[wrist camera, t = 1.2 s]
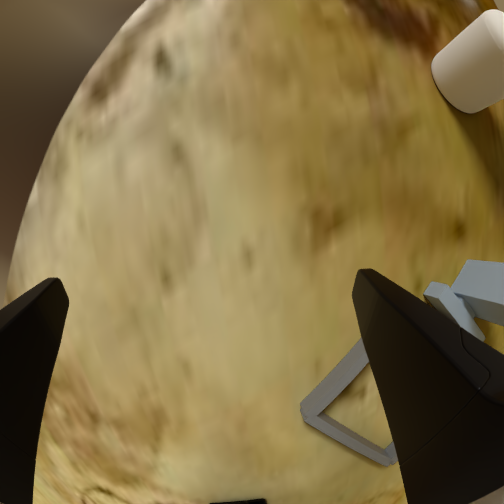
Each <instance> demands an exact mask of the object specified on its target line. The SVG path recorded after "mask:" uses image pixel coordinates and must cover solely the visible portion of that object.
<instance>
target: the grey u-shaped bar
mask: <svg viewBox="0 0 504 504" xmlns="http://www.w3.org/2000/svg"><path fill="white" fill-rule="evenodd" d="M368 362H369V360H368V357H367V354H366V351H365V348H364V345H363V341H362V337H361V339H360V340H359V341H358V342H357V343H356V345H355V346H354V347H353V348H352V349H351V350H350V351H349V353H348V354H347V355H346V356H345V357H344V358H343V359H342V360H341V361H340V363H339V364H338V365H337V366H336V367H335V368H334V369H333V370H332V371H331V372H330V373H329V374H328V376H327V377H326V378H325V379H324V380H323V381H322V382H321V383H320V384H319V385H318V386H317V387H316V388H315V389H314V390H313V391H312V392H311V393H310V394H309V395H308V396H307V397H306V398H305V399H304V400H303V401H302V402H301V403H300V405H301V409H300V411H301V414H302V416H303V419H304V421H305V422H306V423H308V424H310V425H311V426H313V427H315V428H316V429H318V430H320V431H321V432H323V433H325V434H326V435H328V436H330V437H332V438H333V439H335V440H337V441H339V442H340V443H342V444H344V445H346V446H347V447H349V448H351V449H353V450H355V451H357V452H359V453H360V454H362V455H364V456H366V457H368V458H370V459H372V460H374V461H376V462H378V463H380V464H382V465H384V466H386V467H388V466H389V465H390V464H392V465H393V464H394V463H396V462H397V461H398V458H397V454H396V450H395V446H394V442H392V443H391V444H390V445H389V446H388V447H387V448H386V449H385V450H384V449H382V448H381V447H379V446H377V445H375V444H374V443H372V442H370V441H368V440H367V439H365V438H363V437H362V436H360V435H358V434H357V433H355V432H353V431H352V430H350V429H348V428H347V427H345V426H344V425H342V424H340V423H339V422H337V421H336V420H334V419H332V418H331V417H329V416H328V415H326V414H325V413H323V412H322V411H323V410H324V409H325V408H326V407H327V406H328V405H329V404H330V403H331V402H332V401H333V400H334V399H335V398H336V397H337V396H338V395H339V394H340V393H341V392H342V390H343V389H344V388H345V387H346V386H347V385H348V384H349V383H350V382H351V381H352V380H353V379H354V378H355V377H356V376H357V374H358V373H359V372H360V371H361V370H362V369H363V368H364V367H365V366H366V364H367V363H368Z"/></svg>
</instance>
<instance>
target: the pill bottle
mask: <svg viewBox="0 0 504 504" xmlns="http://www.w3.org/2000/svg"><path fill="white" fill-rule="evenodd" d="M431 70H432V75H433V78H434V81H435V83H436V85H437V87H438V89H439V90H440V92H441V93H442V94H443V96H444V97H445V98H446V99H447V100H448V101H449V102H450V103H451V104H452V105H453V106H454V107H456V108H457V109H459V110H460V111H462V112H465V113H476V112H479V111H481V110H483V109H485V108H486V107H488V106H490V105H492V104H494V103H496V102H498V101H500V100H502V99H504V13H503V12H501V11H499V10H488V11H485V12H484V13H483V14H481V15H480V16H479V17H478V18H477V19H476V20H475V21H474V22H472V23H471V24H470V25H469V26H468V27H467V28H466V29H465V30H463V31H462V32H461V33H460V34H459V35H458V36H457V37H456V38H455V39H453V40H452V41H451V42H450V43H449V44H448V45H447V46H446V47H445V48H443V49H442V50H441V51H440V52H439V53H438V54H437V55H436V56H435V57H434V59H433V61H432V65H431Z"/></svg>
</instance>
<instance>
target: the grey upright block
mask: <svg viewBox="0 0 504 504" xmlns="http://www.w3.org/2000/svg"><path fill="white" fill-rule="evenodd" d="M423 294H424V296H425V297H426V298H427V299H428V300H429V301H430V302H431V304H432V305H433V306H434V307H435V308H436V310H437V311H438V312H440V313H441V314H443V315H444V316H446V317H447V318H449V319H450V320H452V321H453V322H455V323H456V324H458V325H459V326H460V327H462V328H464V329H465V330H466V331H468V332H469V333H471V334H472V335H474V336H475V337H477V338H478V339H480V340H481V341H482V342H483V341H484V340H485V338H486V337H485V336H484V334H483V333H482V331H481V330H480V328H479V327H478V326H477V324H476V323H475V321H474V320H473V319H474V317H477V318H480V319H483V320H486V321H489V322H492V323H495V324H499V325H502V326H504V263H499V262H489V261H478V260H467V261H466V263H465V265H464V267H463V268H462V270H461V272H460V273H459V275H458V277H457V278H456V280H455V282H454V283H453V285H452V286H451V288H450V287H449V286H448V285H447V284H442V283H437V282H433V281H432V282H431V283H430V285H429V286H428V288H427V289H426V291H425V292H424V293H423Z"/></svg>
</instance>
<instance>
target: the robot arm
mask: <svg viewBox="0 0 504 504" xmlns="http://www.w3.org/2000/svg"><path fill="white" fill-rule="evenodd" d="M352 299H353V303H354V307H355V311H356V316H357V320H358V324H359V329H360V333H361V337H362V341H363V345H364V348H365V351H366V354H367V357H368V360H369V363H370V366H371V369H372V372H373V375H374V378H375V381H376V384H377V387H378V391H379V394H380V397H381V400H382V404H383V407H384V410H385V414H386V417H387V421H388V424H389V428H390V431H391V435H392V439H393V442H394V446H395V450H396V454H397V458H398V462H399V465H400V471H401V475H402V479H403V484H404V488H405V493H406V497H407V502H408V504H504V355H503V354H502V353H500V352H498V351H497V350H495V349H494V348H492V347H490V346H489V345H487V344H486V343H484V342H482V341H481V340H480V339H478V338H477V337H475V336H474V335H472V334H471V333H469V332H468V331H466V330H465V329H464V328H462V327H460V326H459V325H458V324H456V323H455V322H453V321H452V320H450V319H449V318H447V317H446V316H444V315H443V314H441V313H440V312H438V311H437V310H436V309H434V308H433V307H431V306H429V305H428V304H426V303H425V302H423V301H422V300H420V299H419V298H417V297H416V296H414V295H413V294H411V293H410V292H408V291H407V290H405V289H403V288H402V287H400V286H399V285H397V284H396V283H394V282H392V281H391V280H389V279H388V278H386V277H385V276H383V275H381V274H380V273H378V272H377V271H375V270H373V269H370V268H369V269H360V270H358V272H357V274H356V279H355V283H354V287H353V291H352ZM68 307H69V298H68V296H67V293H66V291H65V289H64V286H63V284H62V281H61V280H60V279H59V278H47V279H45V280H44V281H42V282H41V283H39V284H38V285H36V286H35V287H33V288H32V289H30V290H29V291H27V292H26V293H24V294H23V295H21V296H20V297H18V298H17V299H15V300H14V301H12V302H11V303H10V304H8V305H7V306H5V307H4V308H3V309H1V310H0V504H33V486H34V474H35V464H36V460H35V459H36V454H37V447H38V440H39V434H40V428H41V422H42V417H43V412H44V407H45V402H46V398H47V393H48V389H49V385H50V381H51V377H52V373H53V369H54V365H55V362H56V358H57V355H58V351H59V347H60V343H61V339H62V334H63V329H64V325H65V320H66V316H67V312H68ZM210 504H267V502H266V500H265V499H254V500H245V501H235V502H222V503H210Z"/></svg>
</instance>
